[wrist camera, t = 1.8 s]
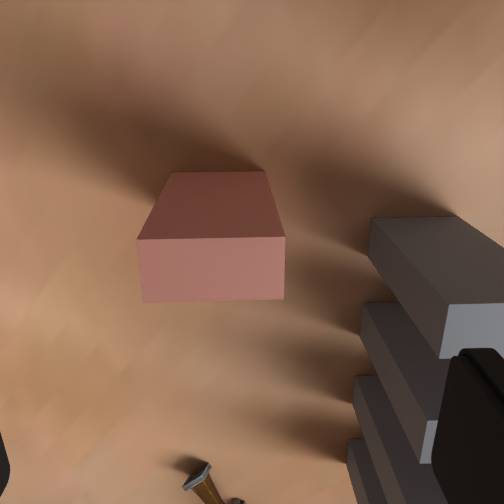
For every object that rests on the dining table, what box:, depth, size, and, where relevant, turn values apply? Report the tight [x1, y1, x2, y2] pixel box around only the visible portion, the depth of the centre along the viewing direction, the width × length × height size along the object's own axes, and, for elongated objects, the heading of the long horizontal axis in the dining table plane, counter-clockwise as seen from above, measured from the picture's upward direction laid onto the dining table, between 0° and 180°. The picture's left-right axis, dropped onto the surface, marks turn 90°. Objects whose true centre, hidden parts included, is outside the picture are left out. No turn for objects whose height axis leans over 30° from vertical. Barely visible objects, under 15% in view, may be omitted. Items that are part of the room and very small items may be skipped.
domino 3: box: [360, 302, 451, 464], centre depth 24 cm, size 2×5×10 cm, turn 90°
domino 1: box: [137, 171, 285, 303], centre depth 20 cm, size 2×5×10 cm, turn 90°
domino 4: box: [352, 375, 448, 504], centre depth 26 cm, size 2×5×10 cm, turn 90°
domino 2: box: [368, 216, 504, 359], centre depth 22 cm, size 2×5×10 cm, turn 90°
